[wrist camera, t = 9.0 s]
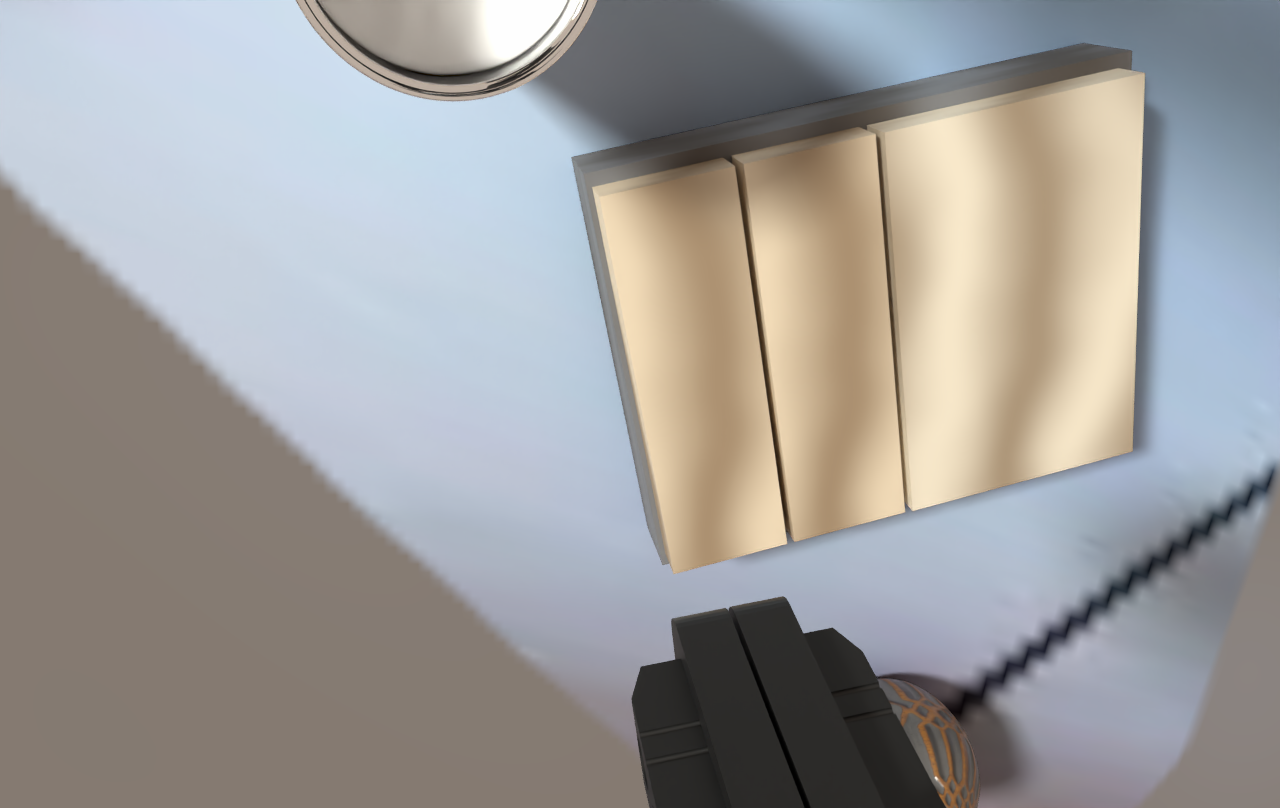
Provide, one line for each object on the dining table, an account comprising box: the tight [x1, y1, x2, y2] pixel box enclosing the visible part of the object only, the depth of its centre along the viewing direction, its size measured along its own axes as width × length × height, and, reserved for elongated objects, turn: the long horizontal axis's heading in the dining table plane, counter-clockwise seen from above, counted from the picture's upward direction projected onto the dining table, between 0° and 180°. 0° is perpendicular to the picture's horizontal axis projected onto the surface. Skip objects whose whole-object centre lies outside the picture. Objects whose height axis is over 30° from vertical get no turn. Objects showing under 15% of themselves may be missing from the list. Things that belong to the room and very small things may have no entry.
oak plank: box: [867, 68, 1145, 511], centre depth 39 cm, size 10×15×2 cm, turn 10°
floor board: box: [571, 43, 1132, 574], centre depth 40 cm, size 20×16×4 cm
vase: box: [877, 679, 980, 808], centre depth 47 cm, size 7×7×9 cm
